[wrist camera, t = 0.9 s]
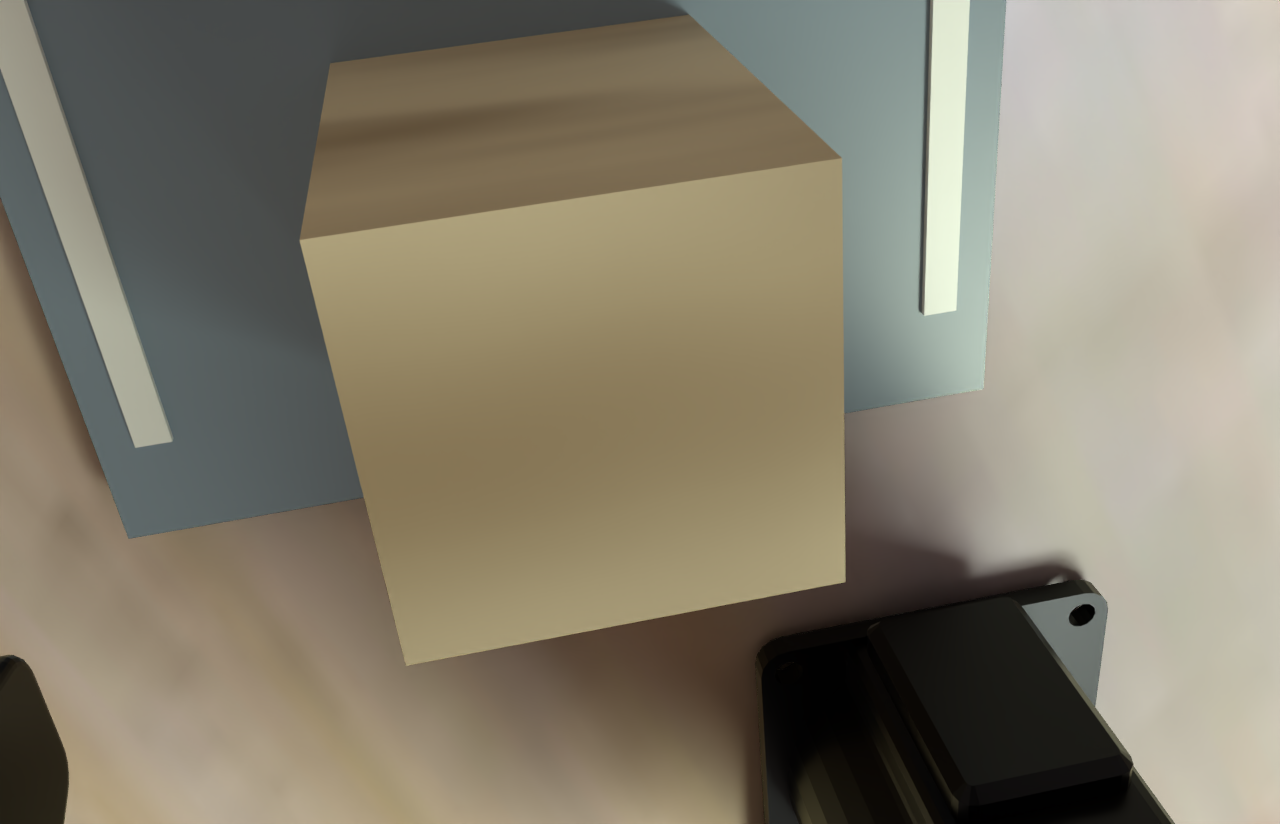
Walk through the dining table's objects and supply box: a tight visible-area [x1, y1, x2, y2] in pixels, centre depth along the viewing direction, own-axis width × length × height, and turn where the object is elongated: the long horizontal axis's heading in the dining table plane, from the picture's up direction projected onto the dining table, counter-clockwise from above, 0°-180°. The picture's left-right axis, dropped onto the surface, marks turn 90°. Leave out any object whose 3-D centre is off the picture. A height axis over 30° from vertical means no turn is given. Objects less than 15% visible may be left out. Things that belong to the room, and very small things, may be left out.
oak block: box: [300, 15, 846, 666], centre depth 14 cm, size 4×4×6 cm
